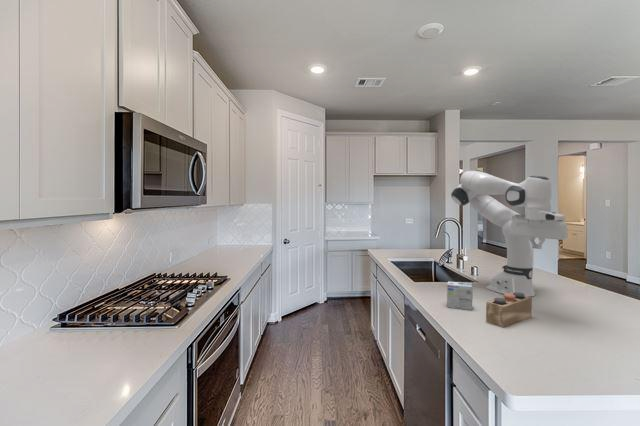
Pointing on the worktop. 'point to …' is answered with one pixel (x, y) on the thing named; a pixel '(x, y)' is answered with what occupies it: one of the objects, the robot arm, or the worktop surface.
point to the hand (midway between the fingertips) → (536, 248)
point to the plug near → (500, 301)
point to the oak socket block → (508, 311)
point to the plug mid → (509, 297)
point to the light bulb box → (459, 295)
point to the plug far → (518, 295)
